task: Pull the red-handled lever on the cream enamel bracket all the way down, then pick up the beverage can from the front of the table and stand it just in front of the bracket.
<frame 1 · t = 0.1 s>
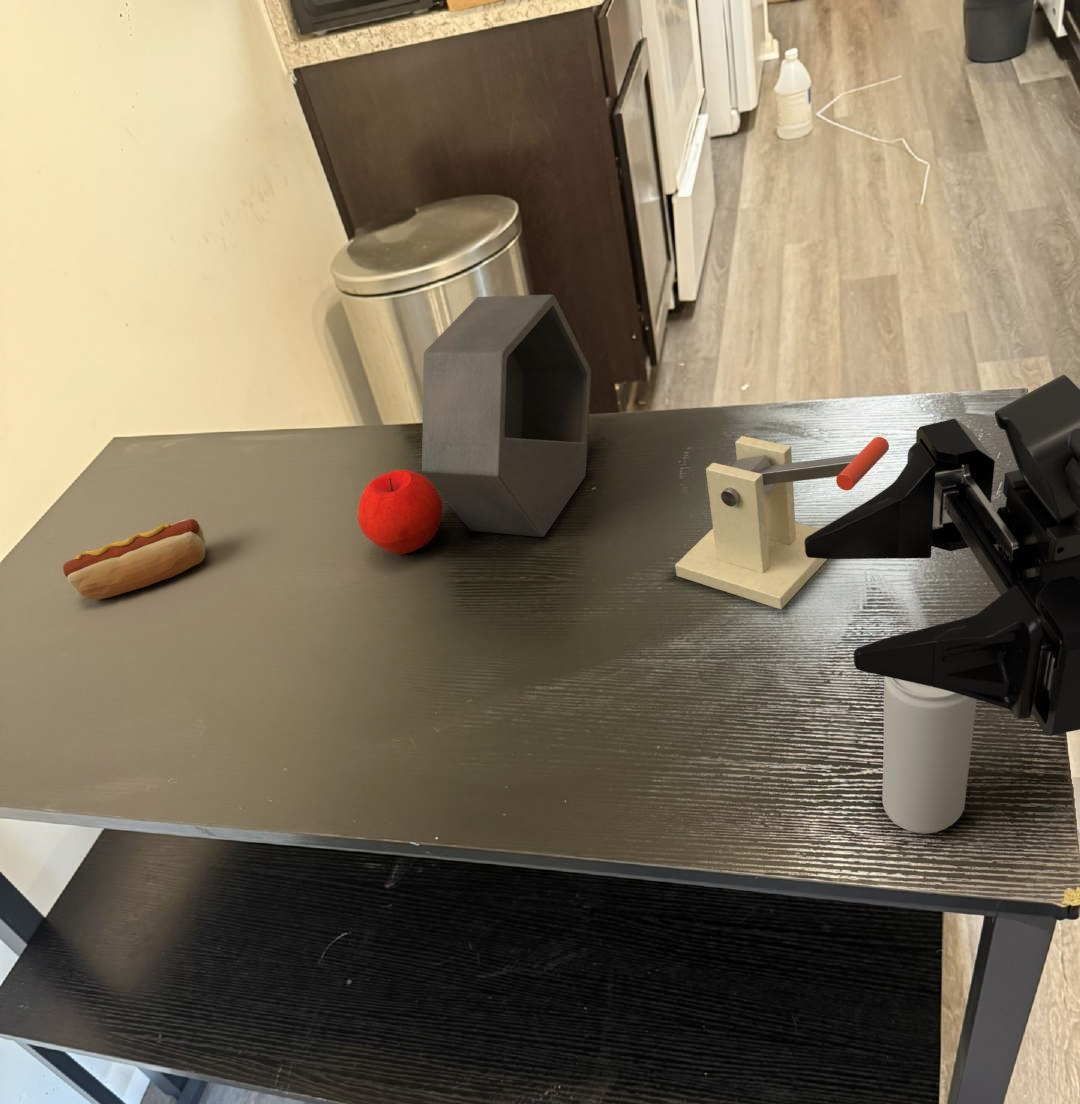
hand: (828, 600, 51), 18 cm above the table, tool horizontal, fingers open, 9 cm apart
planter: (532, 501, 97), on the table
lever: (799, 471, 74), point 10 cm above the table, hinge at 20.0°
beverage can: (922, 810, 63), on the table
food: (151, 580, 103), on the table
bracket: (757, 560, 83), on the table
apple: (412, 547, 96), on the table
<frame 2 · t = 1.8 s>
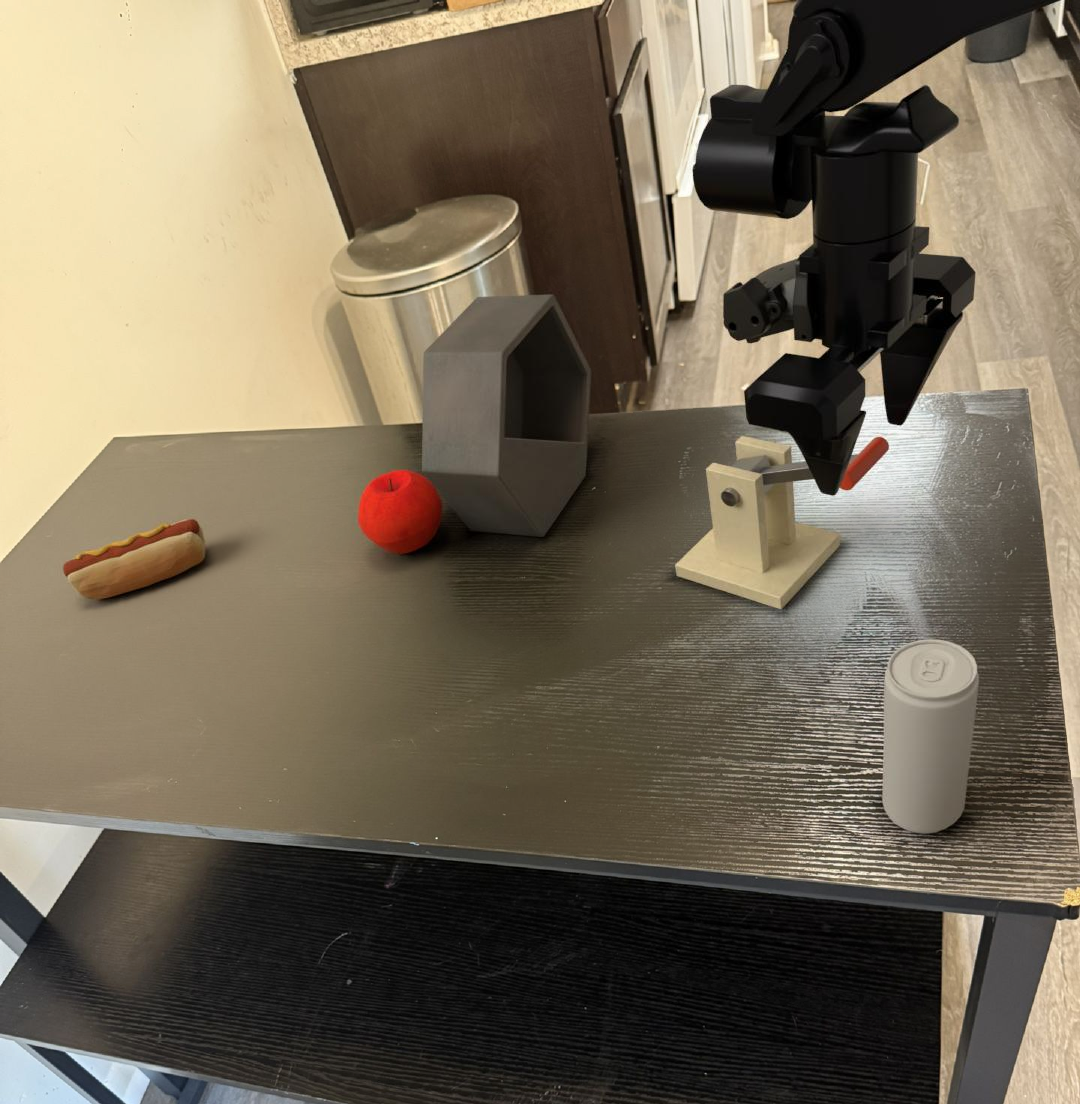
hand: (863, 457, 69), 12 cm above the table, tool pointing down, fingers open, 9 cm apart
nothing on the table moved.
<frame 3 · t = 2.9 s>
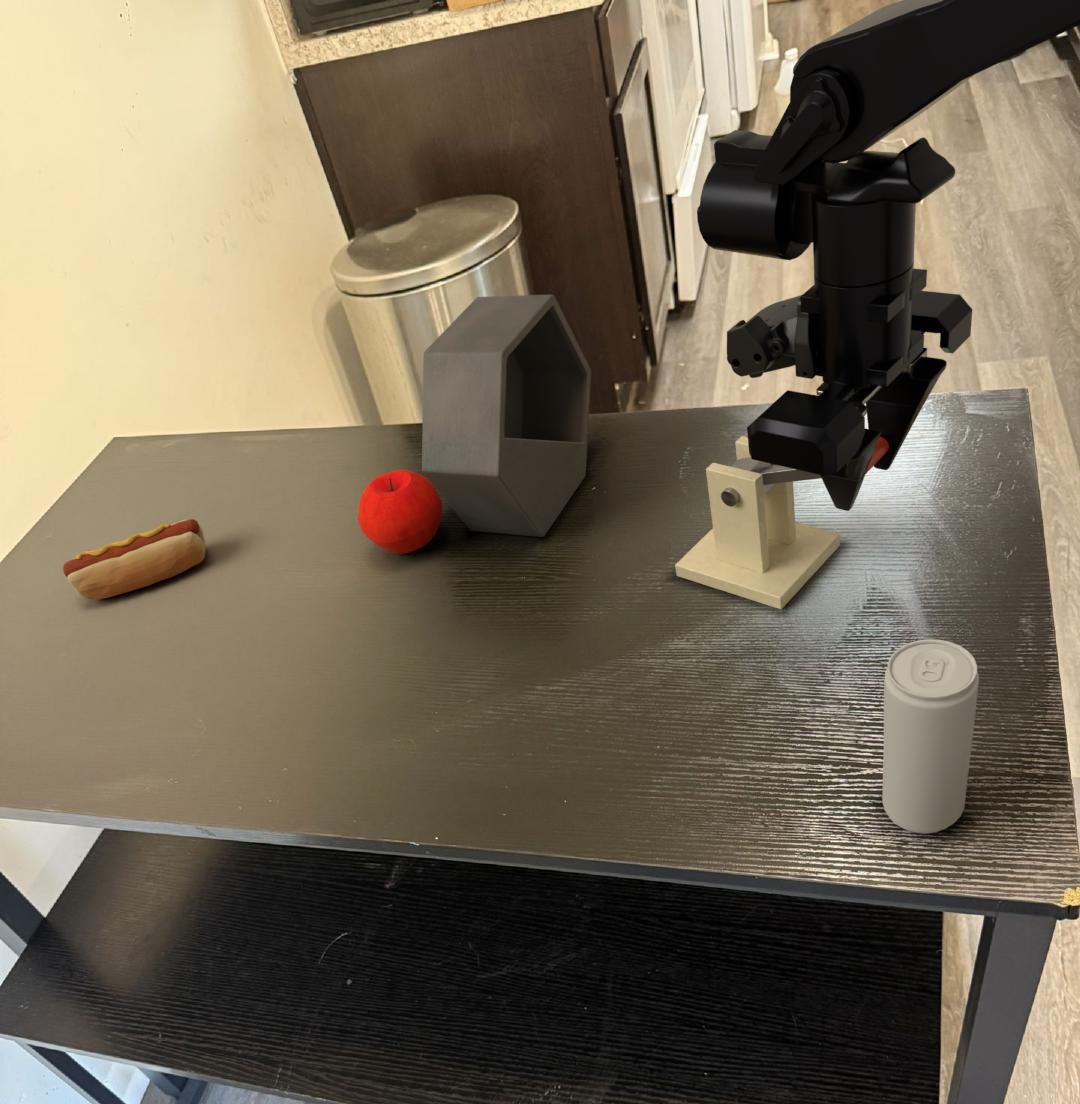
hand: (863, 487, 71), 9 cm above the table, tool pointing down, fingers closed on lever, 5 cm apart
lever: (799, 471, 74), point 10 cm above the table, hinge at 20.0°, touching gripper
everything else where it was.
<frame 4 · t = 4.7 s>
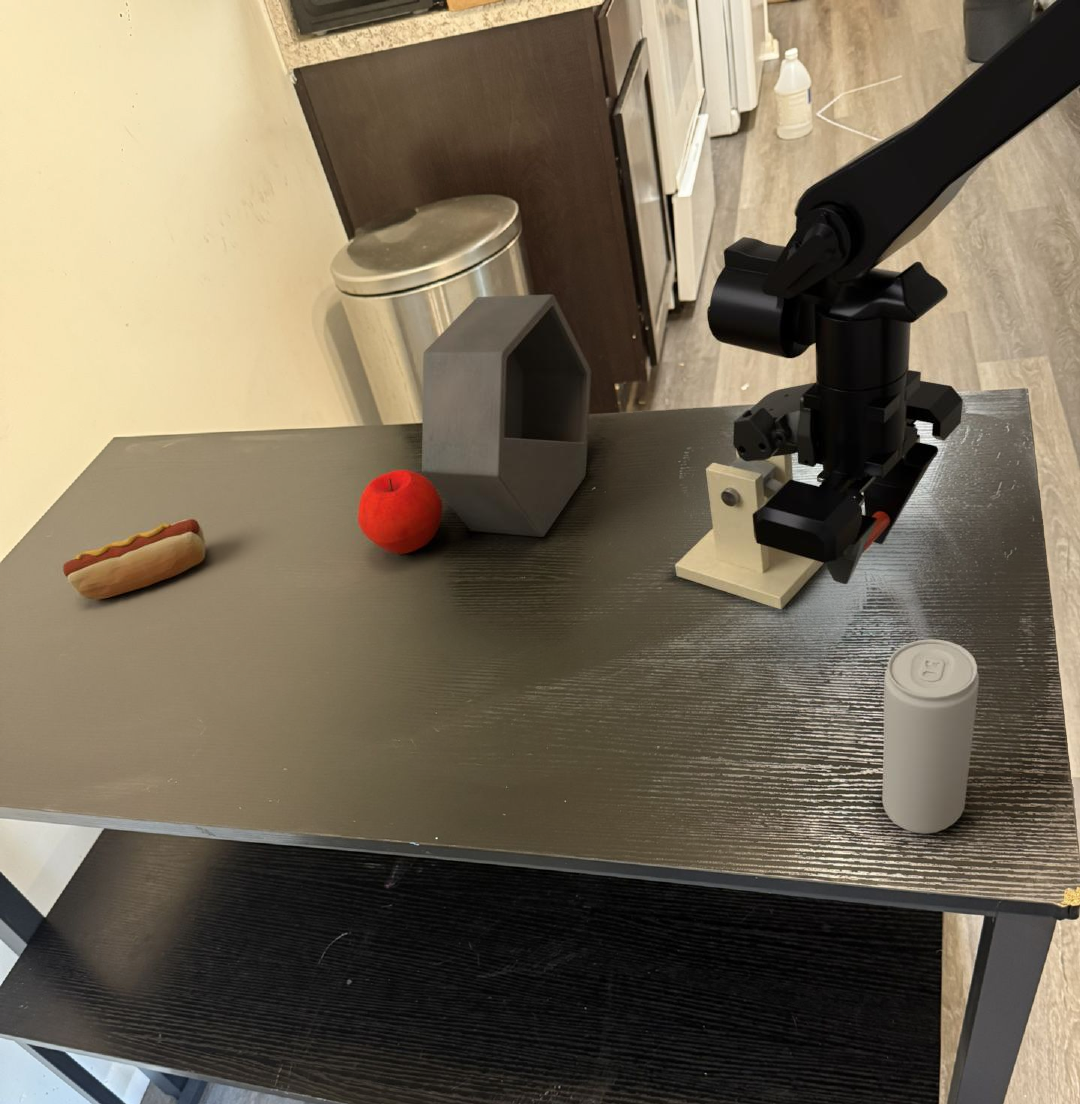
hand: (859, 561, 76), 3 cm above the table, tool pointing down, fingers closed on lever, 5 cm apart
lever: (802, 504, 76), point 7 cm above the table, hinge at -16.1°, touching gripper
everything else where it was.
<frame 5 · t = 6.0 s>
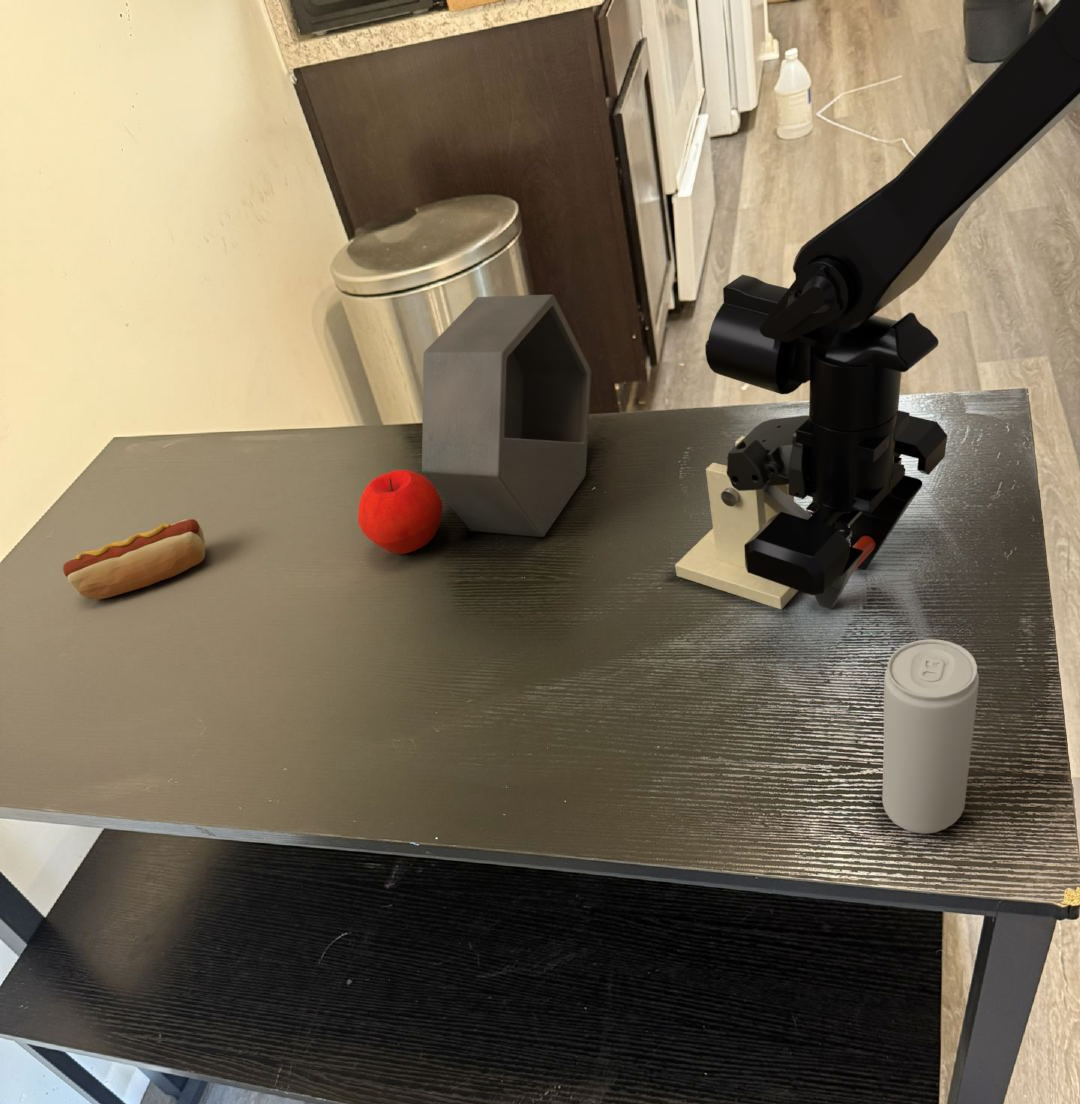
hand: (843, 586, 79), 0 cm above the table, tool pointing down, fingers closed on lever, 5 cm apart
lever: (796, 516, 77), point 6 cm above the table, hinge at -32.2°, touching gripper
everything else where it was.
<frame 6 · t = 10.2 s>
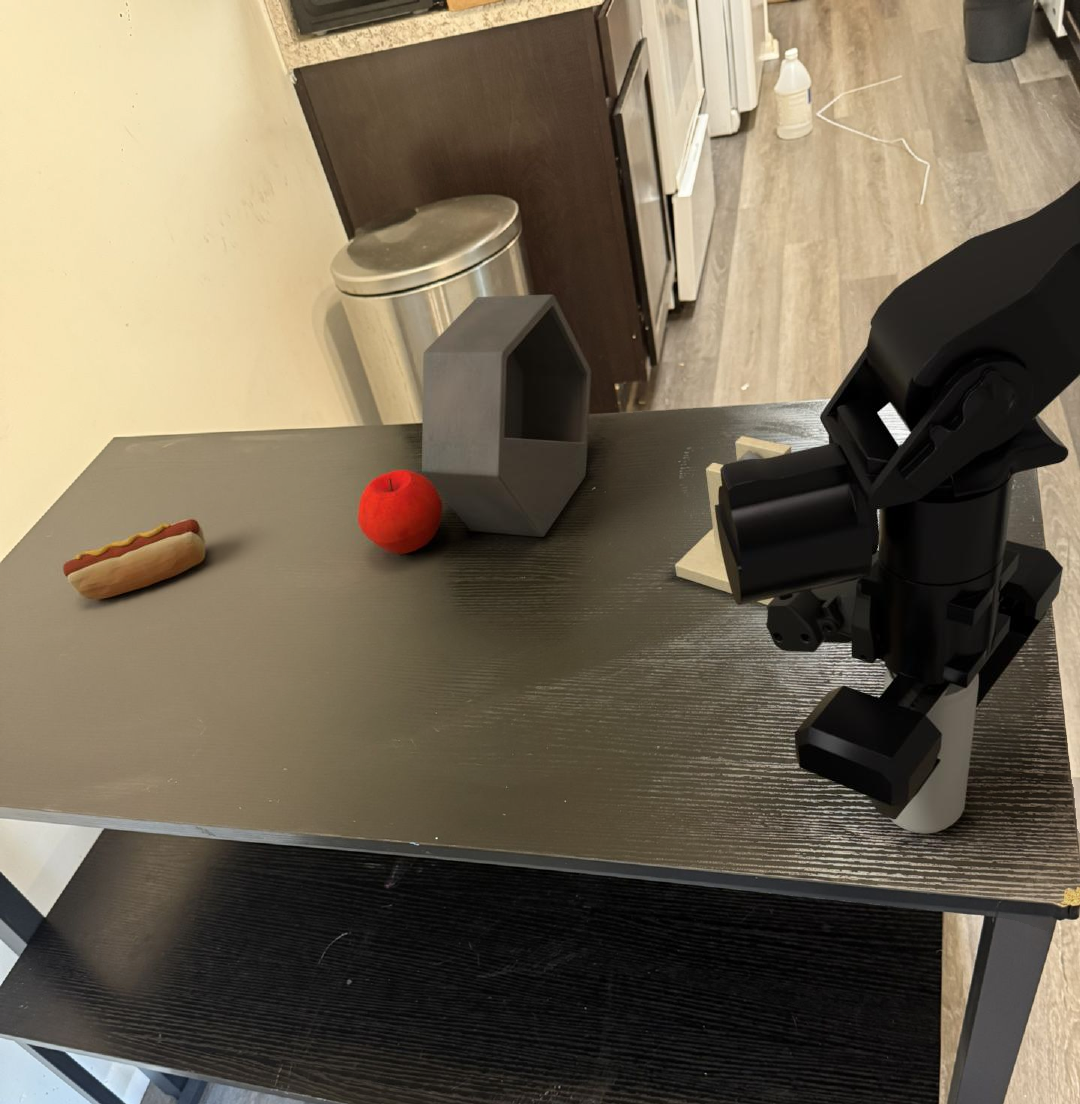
hand: (926, 762, 60), 4 cm above the table, tool pointing down
lever: (798, 513, 77), point 6 cm above the table, hinge at -28.7°
beverage can: (922, 809, 63), on the table, touching gripper
everything else where it was.
when the fingers open (5 cm above the table, at t = 15.4 s): beverage can stays where it is, on the table.
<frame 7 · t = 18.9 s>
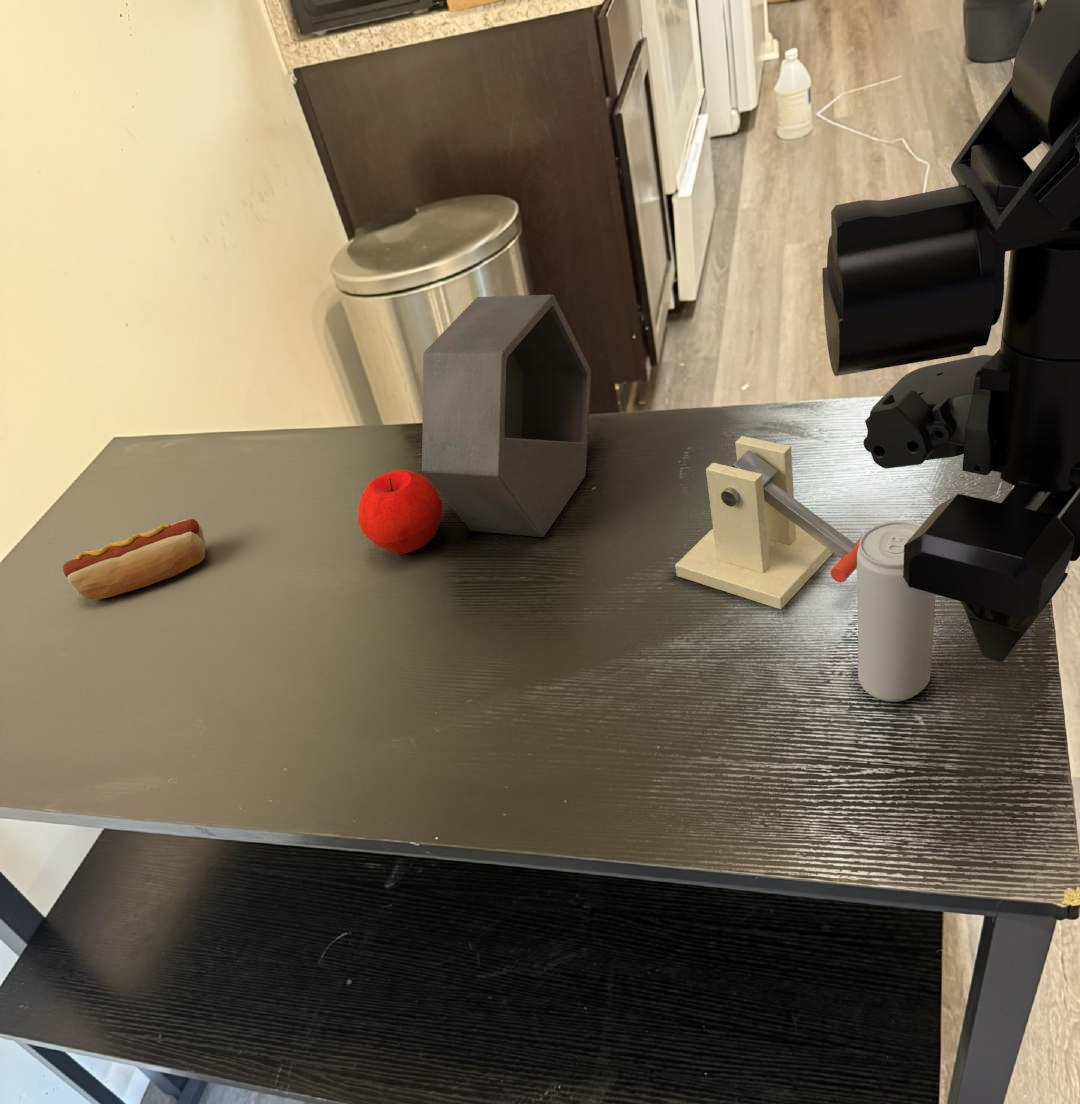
hand: (1031, 606, 54), 13 cm above the table, tool pointing down, fingers open, 9 cm apart
beverage can: (893, 683, 71), on the table
everything else where it was.
at the end: lever at -29° (first picture: +20°); beverage can 0.8 cm from the target spot, on the table; beverage can tilted 0° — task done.
